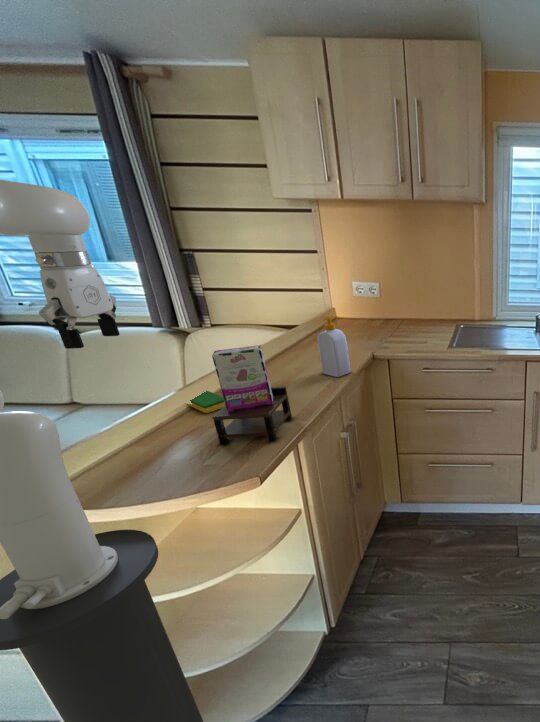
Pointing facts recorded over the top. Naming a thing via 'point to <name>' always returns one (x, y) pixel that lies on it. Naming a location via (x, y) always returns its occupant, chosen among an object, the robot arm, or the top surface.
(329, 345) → the soap bottle
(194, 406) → the dish sponge
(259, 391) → the candy bar box
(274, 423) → the rack
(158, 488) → the top surface
